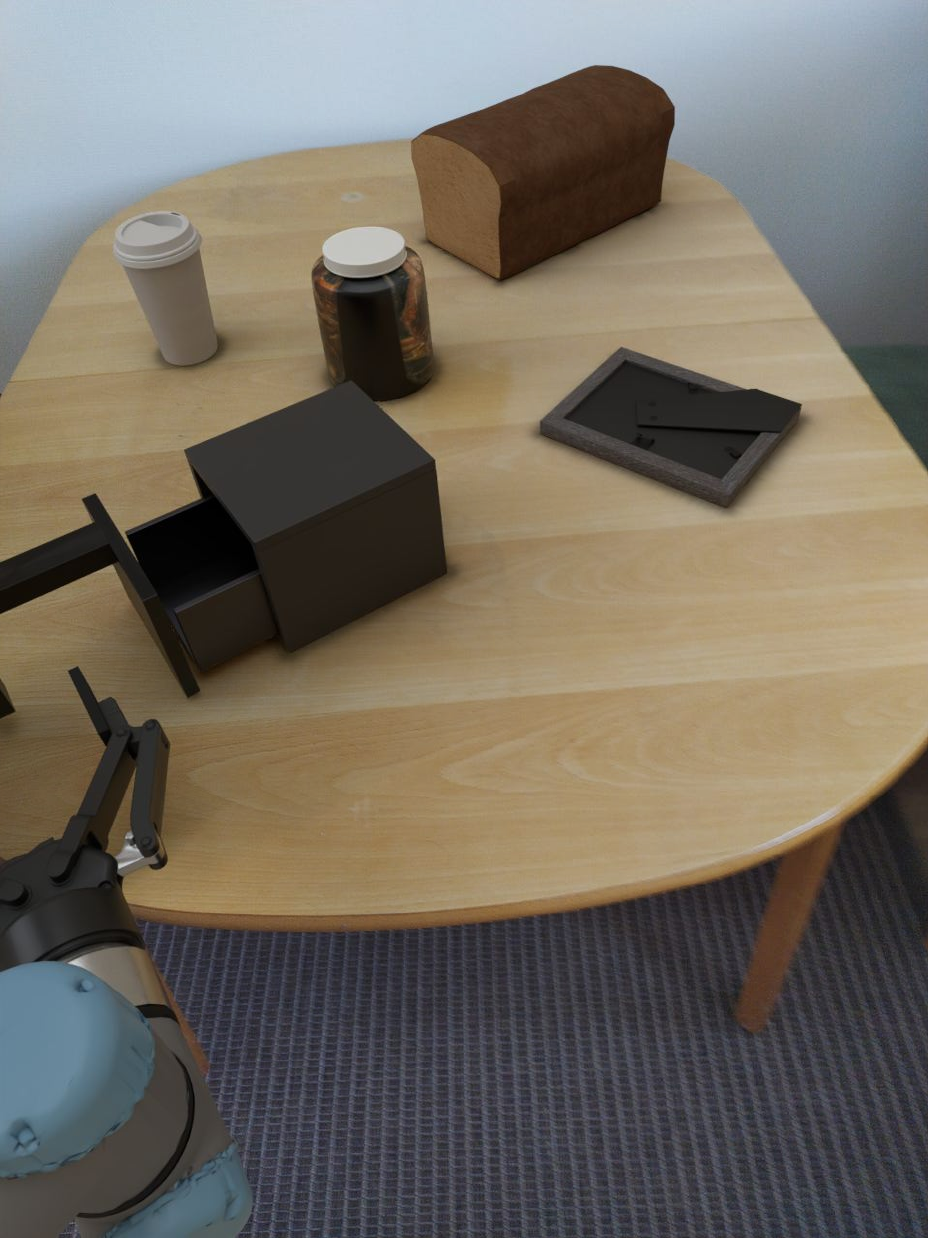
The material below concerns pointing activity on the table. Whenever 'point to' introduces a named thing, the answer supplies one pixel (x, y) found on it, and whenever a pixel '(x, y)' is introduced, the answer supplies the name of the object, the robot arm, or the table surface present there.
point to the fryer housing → (328, 508)
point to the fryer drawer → (160, 582)
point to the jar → (373, 312)
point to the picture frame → (673, 424)
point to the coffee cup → (169, 283)
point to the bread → (544, 168)
